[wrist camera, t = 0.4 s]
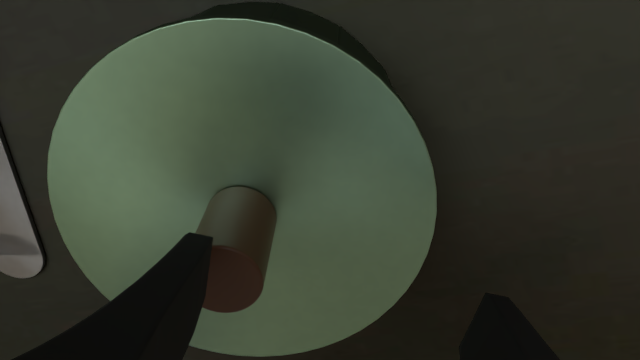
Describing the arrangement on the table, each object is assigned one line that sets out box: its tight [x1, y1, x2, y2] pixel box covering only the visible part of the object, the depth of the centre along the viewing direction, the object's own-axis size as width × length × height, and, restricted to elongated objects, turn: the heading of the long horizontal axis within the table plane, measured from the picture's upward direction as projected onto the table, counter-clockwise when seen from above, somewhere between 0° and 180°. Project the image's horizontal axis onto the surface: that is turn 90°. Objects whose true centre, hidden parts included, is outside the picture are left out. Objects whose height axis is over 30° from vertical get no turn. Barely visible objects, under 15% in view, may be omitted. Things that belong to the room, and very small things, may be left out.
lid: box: [47, 15, 437, 357], centre depth 17 cm, size 13×13×5 cm
